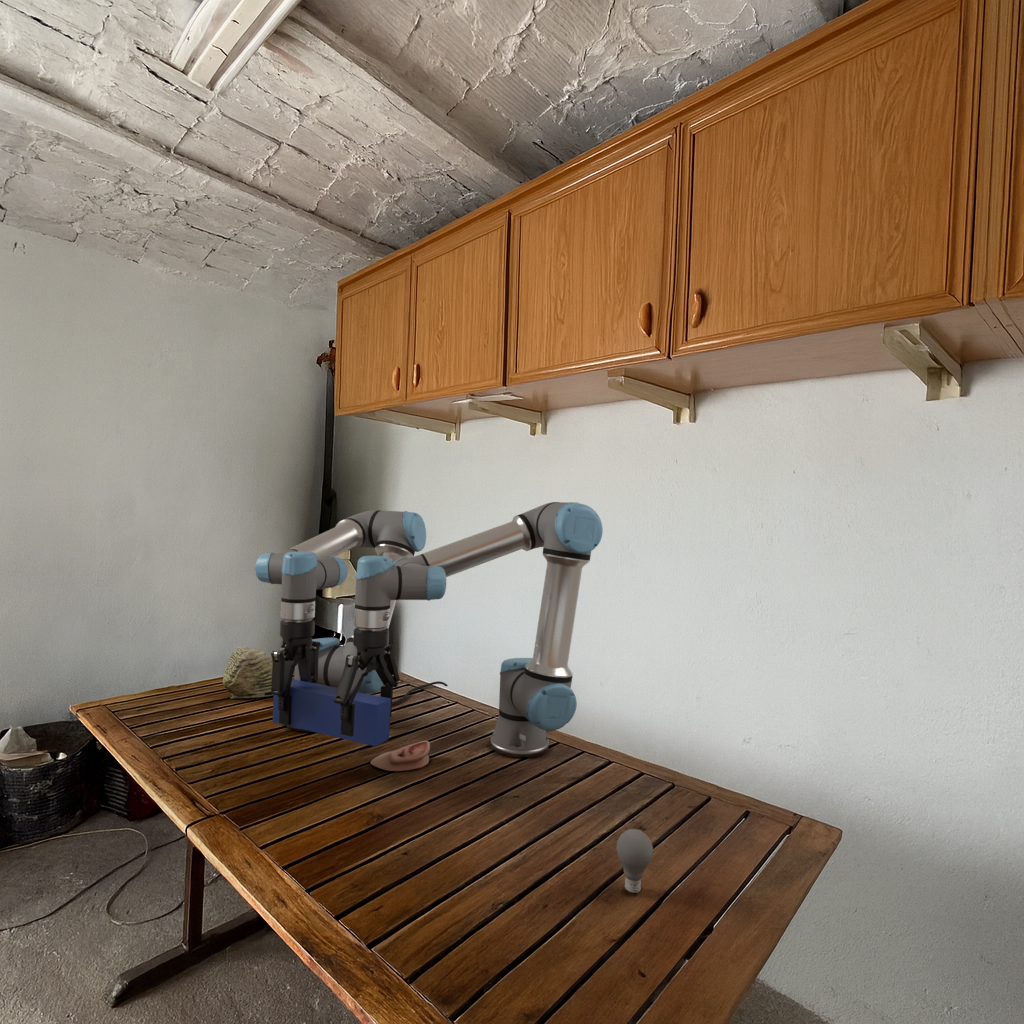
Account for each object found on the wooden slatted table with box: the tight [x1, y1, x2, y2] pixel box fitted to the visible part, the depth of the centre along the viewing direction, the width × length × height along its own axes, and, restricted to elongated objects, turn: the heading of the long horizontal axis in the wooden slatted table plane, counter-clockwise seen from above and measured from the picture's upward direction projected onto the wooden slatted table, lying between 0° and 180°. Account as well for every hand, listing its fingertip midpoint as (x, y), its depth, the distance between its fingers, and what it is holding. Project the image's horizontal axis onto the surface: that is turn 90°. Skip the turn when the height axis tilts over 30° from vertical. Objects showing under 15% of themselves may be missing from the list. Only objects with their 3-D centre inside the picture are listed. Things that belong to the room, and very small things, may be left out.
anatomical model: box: [370, 740, 431, 772], centre depth 153 cm, size 13×4×12 cm
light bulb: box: [615, 828, 654, 894], centre depth 106 cm, size 6×6×10 cm
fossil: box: [222, 646, 274, 699], centre depth 198 cm, size 9×18×15 cm, turn 132°
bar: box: [272, 678, 391, 747], centre depth 142 cm, size 28×5×9 cm, turn 66°
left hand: (294, 719), depth 146 cm, fingers closed on bar, 5 cm apart
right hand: (367, 725), depth 137 cm, fingers open, 13 cm apart
